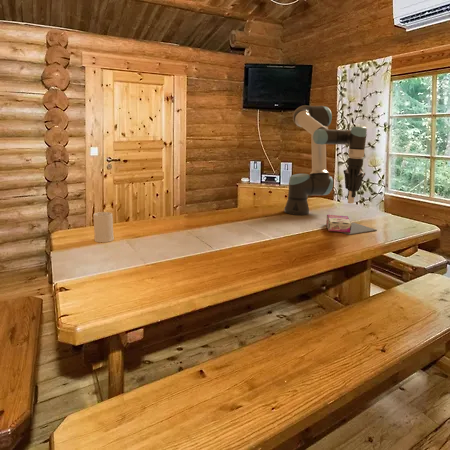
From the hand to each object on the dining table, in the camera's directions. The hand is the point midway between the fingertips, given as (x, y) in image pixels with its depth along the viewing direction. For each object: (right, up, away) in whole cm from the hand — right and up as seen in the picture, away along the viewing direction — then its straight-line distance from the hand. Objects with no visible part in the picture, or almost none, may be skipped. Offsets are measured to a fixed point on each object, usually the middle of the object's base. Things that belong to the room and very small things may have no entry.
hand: (350, 203), depth 207 cm
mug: (-121, -18, -28) cm, 126 cm away
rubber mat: (+1, -14, +2) cm, 14 cm away
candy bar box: (-5, -9, +8) cm, 13 cm away
